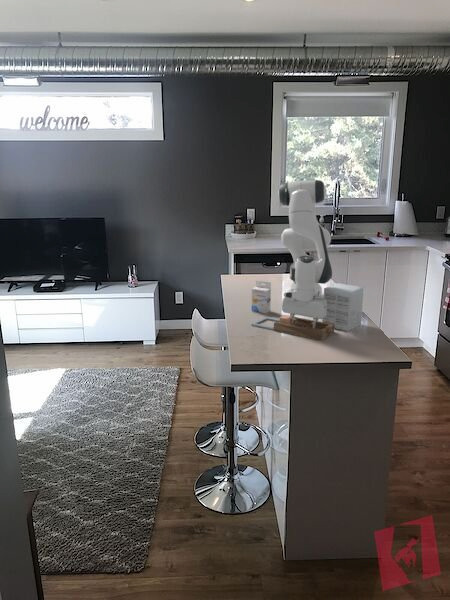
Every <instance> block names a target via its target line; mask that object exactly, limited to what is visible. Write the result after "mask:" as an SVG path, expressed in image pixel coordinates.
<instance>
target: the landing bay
mask: <svg viewBox="0 0 450 600" xmlns="http://www.w3.org/2000/svg"><path fill="white" fill-rule="evenodd" d="M265 321H271V322H274V323H275V322H279V323H280V318H279V319H278V318H273V317H268V316H266V317H264V318H262V319H259V320H258V321H255V322H253V323H251V326H252V327H257V328H260V329H266V330H271V331H275V330H274V326H269V325H265V324H261V323H263V322H265Z"/></svg>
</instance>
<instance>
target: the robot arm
mask: <svg viewBox="0 0 450 600" xmlns="http://www.w3.org/2000/svg"><path fill="white" fill-rule="evenodd" d="M326 194H327V187H326V185H325V184H324V182H323V181H322V180H319V179H315V180H311V179H310V180H308V179H307V180H298V181H291V182H284V183H281V184H280V186H279V188H278V191H277V198H278V200H279V202H280V204H281V205H282V206H287V207H288V220H289V221H288V223H289V226H290V228H285V229H284V230H283V231H282V233H281V235H280V240H281V243H282V245H283V246H284V247H285V248H286V249H287V250H288V251H289V253H290V254H291V256H292V259H293V262H292V263H291V264H290V266H289V279H290V280H291V281H292V282H291V284H290V290H287V291H285V292H284V293H283V297H284V298H283V299H282V303H281V310H282V312H283V313H284V314H285V313H286V314H289V316H290V317H291V319H292V324H297V319H295V317H296V315H297V316H301V317H306V318H313V319H312V320H314V322H312V323H311V327H313V328H314V327H315V326H316V322H317V321H319V320H323V319H324V318H326V317H327V300H326V299H324V293H323V288H322V286H321V285H322V284H323V285H325V284H327V283H328V282H329V281H331V280H332V277H333V268H332V264H331V262H330V259H329V252H328V249H327V248H328V247H329V246H330V244H331V242H332V238H331V237H332V236H331V233H330V231H328V229H326V228H325V227H323V226H322V225H321V223H320V222H319V221H318V218H317V213H316V204H319V203H322V202H323V201H325V197H326ZM305 250H316V252H317V253H316V254H317V257H318V260H316V259H315V258H314V257H313V256H310V255H308V254H307V253H306V251H305ZM320 284H321V285H320Z"/></svg>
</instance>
